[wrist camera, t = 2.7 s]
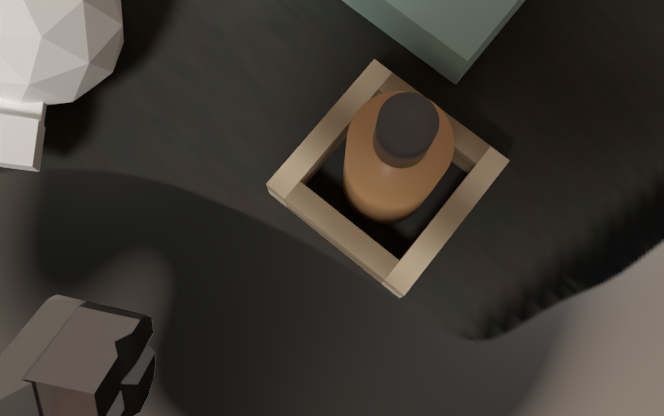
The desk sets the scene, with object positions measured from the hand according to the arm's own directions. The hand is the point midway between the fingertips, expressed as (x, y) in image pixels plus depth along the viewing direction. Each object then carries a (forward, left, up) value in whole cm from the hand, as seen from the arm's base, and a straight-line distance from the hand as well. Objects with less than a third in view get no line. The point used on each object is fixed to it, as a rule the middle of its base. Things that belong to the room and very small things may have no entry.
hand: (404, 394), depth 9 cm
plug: (+8, +4, -22) cm, 24 cm away
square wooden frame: (+8, +4, -22) cm, 24 cm away
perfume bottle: (+1, +22, -22) cm, 32 cm away
